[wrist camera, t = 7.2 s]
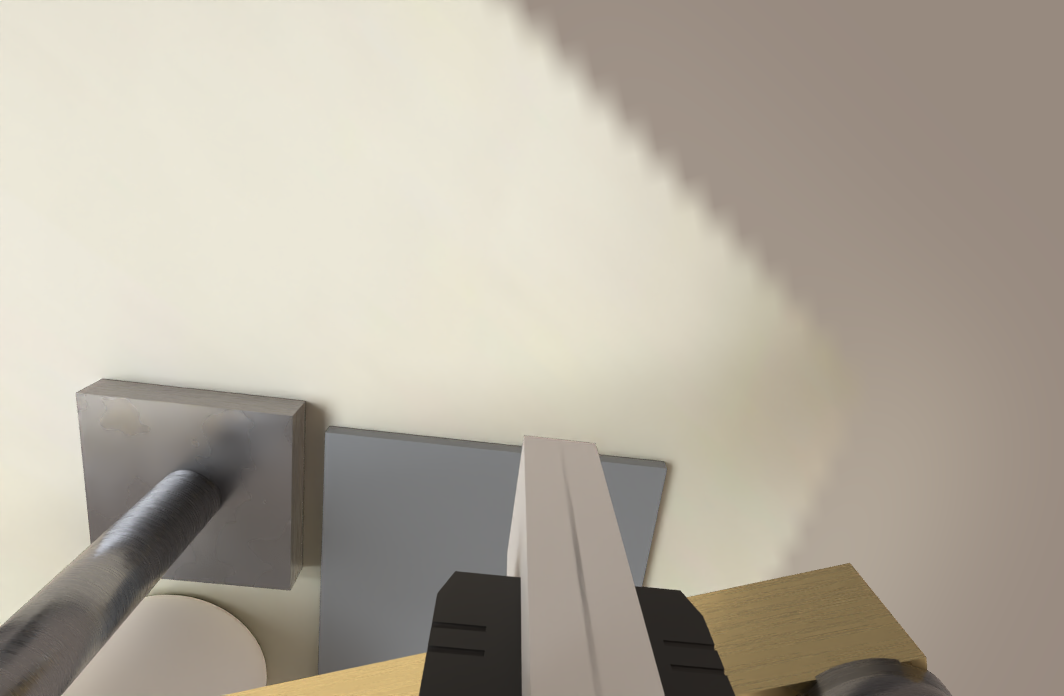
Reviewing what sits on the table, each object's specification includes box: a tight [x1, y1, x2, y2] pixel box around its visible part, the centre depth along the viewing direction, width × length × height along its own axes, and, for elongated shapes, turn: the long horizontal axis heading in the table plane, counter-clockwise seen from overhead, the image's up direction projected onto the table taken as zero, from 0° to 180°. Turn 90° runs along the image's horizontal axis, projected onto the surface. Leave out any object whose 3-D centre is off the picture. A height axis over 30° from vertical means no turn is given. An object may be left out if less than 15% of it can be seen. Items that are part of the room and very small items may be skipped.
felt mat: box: [318, 426, 667, 675], centre depth 28 cm, size 18×14×1 cm
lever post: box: [0, 379, 305, 696], centre depth 19 cm, size 8×8×14 cm
